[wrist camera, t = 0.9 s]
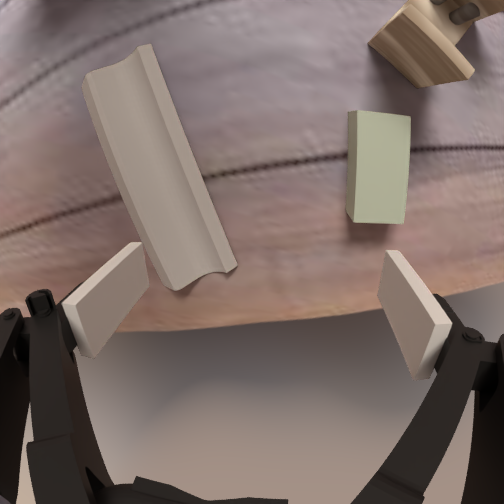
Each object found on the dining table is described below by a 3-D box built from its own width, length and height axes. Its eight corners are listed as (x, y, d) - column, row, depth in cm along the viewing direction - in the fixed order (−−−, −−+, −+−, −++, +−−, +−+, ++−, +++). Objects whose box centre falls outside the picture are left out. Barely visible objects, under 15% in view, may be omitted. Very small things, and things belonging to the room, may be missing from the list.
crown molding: (237, 262, 41) (233, 275, 38) (163, 283, 44) (154, 296, 41) (152, 45, 30) (140, 39, 27) (82, 89, 33) (66, 88, 30)
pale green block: (347, 112, 31) (357, 110, 27) (395, 116, 31) (410, 116, 26) (345, 209, 36) (353, 222, 32) (390, 211, 36) (403, 224, 31)
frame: (431, -23, 21) (471, -56, 10) (473, 18, 22) (523, -1, 11) (367, 43, 27) (402, 12, 16) (416, 88, 29) (468, 79, 18)
